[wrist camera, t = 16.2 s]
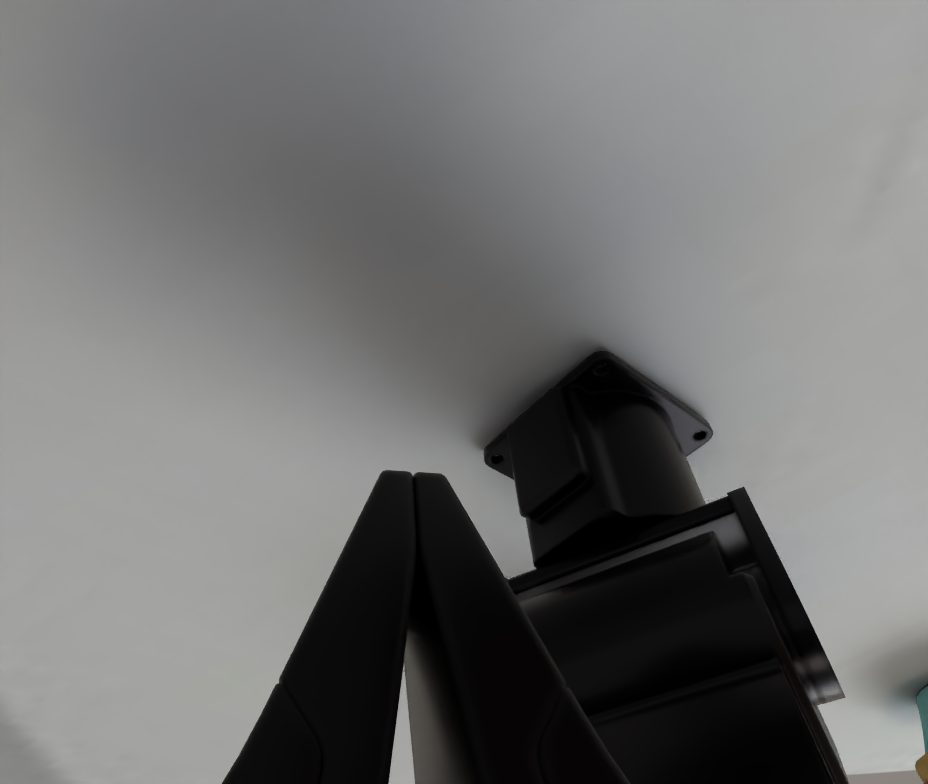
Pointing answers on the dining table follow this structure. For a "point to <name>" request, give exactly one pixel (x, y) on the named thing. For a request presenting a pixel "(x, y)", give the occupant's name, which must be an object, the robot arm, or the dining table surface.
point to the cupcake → (924, 766)
